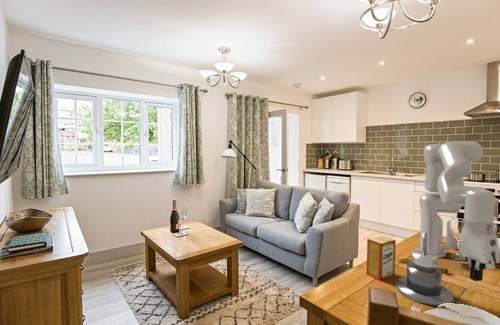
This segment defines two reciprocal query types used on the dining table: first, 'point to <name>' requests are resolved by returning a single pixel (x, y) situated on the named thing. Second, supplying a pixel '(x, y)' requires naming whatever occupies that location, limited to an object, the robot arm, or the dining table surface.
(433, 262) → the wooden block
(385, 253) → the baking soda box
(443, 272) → the primitive tool
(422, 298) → the grey stepped cylinder
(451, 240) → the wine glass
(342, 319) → the dining table surface
